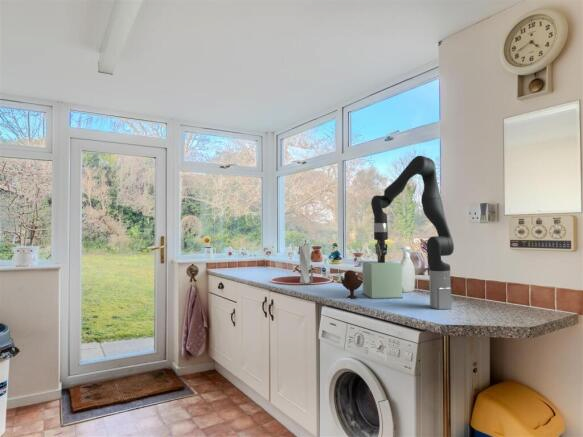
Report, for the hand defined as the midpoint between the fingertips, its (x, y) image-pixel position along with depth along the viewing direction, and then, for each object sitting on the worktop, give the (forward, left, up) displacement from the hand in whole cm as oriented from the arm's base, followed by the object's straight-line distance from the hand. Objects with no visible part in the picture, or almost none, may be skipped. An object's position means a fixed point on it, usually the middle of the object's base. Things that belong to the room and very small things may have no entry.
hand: (381, 262), depth 213 cm
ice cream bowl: (-4, +18, -19) cm, 26 cm away
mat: (0, 0, -19) cm, 19 cm away
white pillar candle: (+60, +34, -19) cm, 72 cm away
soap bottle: (+12, -19, -19) cm, 29 cm away
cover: (0, 0, -18) cm, 18 cm away
